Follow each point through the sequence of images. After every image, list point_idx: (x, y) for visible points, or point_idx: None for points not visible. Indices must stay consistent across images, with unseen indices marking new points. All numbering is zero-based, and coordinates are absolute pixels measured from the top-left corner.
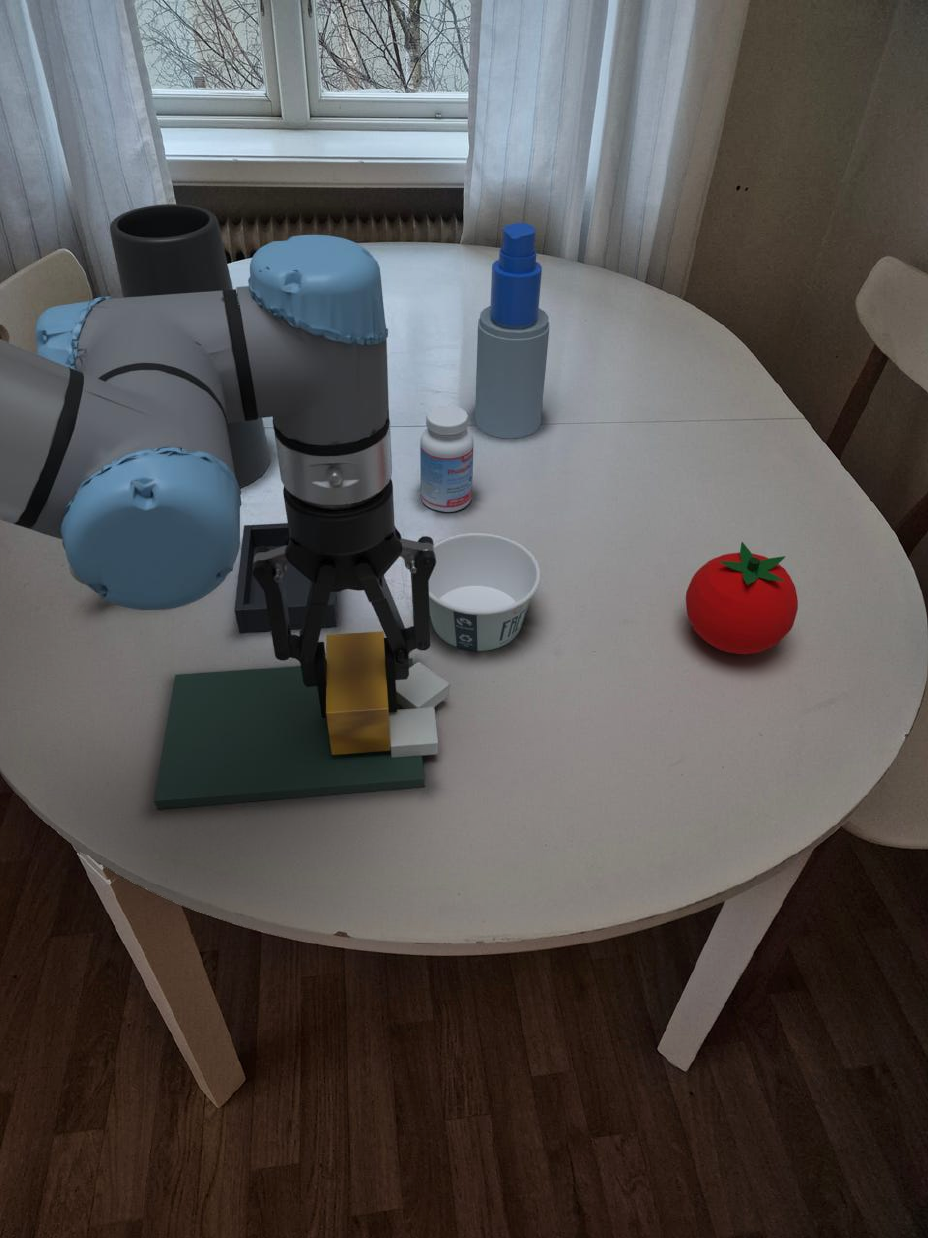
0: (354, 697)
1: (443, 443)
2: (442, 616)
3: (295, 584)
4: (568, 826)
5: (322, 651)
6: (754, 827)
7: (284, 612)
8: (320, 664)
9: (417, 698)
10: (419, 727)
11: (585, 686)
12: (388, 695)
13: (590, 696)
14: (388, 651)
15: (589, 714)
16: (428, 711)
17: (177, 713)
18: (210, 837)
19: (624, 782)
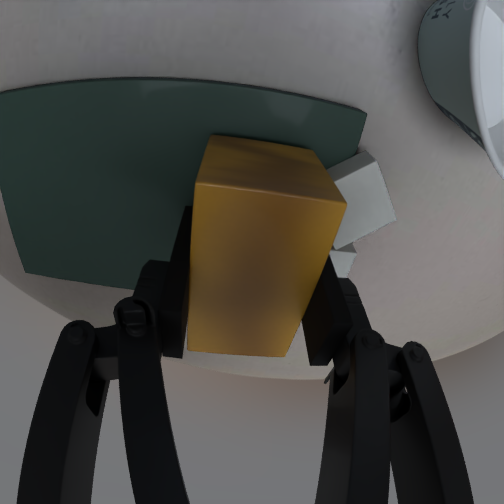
0: (236, 337)
1: None
2: (457, 102)
3: None
4: (391, 334)
5: (178, 333)
6: (472, 337)
7: (89, 491)
8: (175, 356)
9: (342, 235)
10: None
11: (499, 217)
12: None
13: (494, 230)
14: (326, 351)
15: (480, 249)
16: (346, 258)
17: (3, 165)
18: (83, 297)
19: (449, 309)
